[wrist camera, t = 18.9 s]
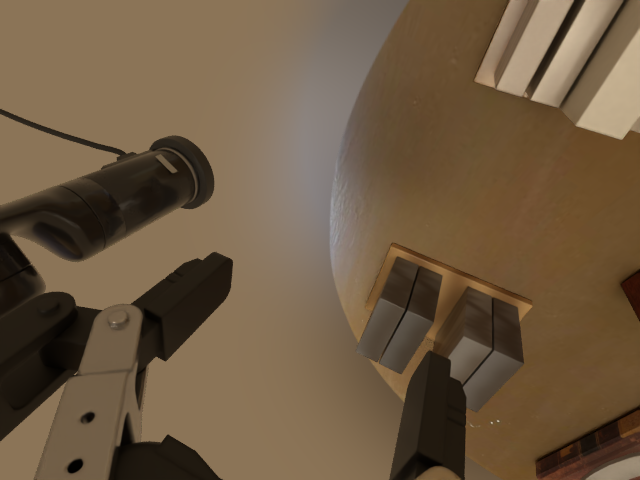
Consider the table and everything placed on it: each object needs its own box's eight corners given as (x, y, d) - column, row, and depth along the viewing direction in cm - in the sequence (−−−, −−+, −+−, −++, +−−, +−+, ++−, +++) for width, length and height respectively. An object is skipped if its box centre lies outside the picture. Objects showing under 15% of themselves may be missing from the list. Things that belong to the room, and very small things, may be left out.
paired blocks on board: (366, 303, 52) (344, 352, 44) (392, 242, 45) (372, 286, 37) (483, 358, 48) (482, 421, 40) (532, 300, 41) (542, 363, 33)
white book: (541, 90, 30) (574, 126, 19) (622, -55, 25) (746, -137, 13) (569, 98, 30) (622, 140, 18) (659, -48, 24) (823, -126, 12)
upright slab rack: (473, 80, 33) (467, 98, 24) (547, -87, 26) (579, -151, 17) (630, 127, 30) (692, 168, 21) (762, -47, 23) (940, -99, 14)
